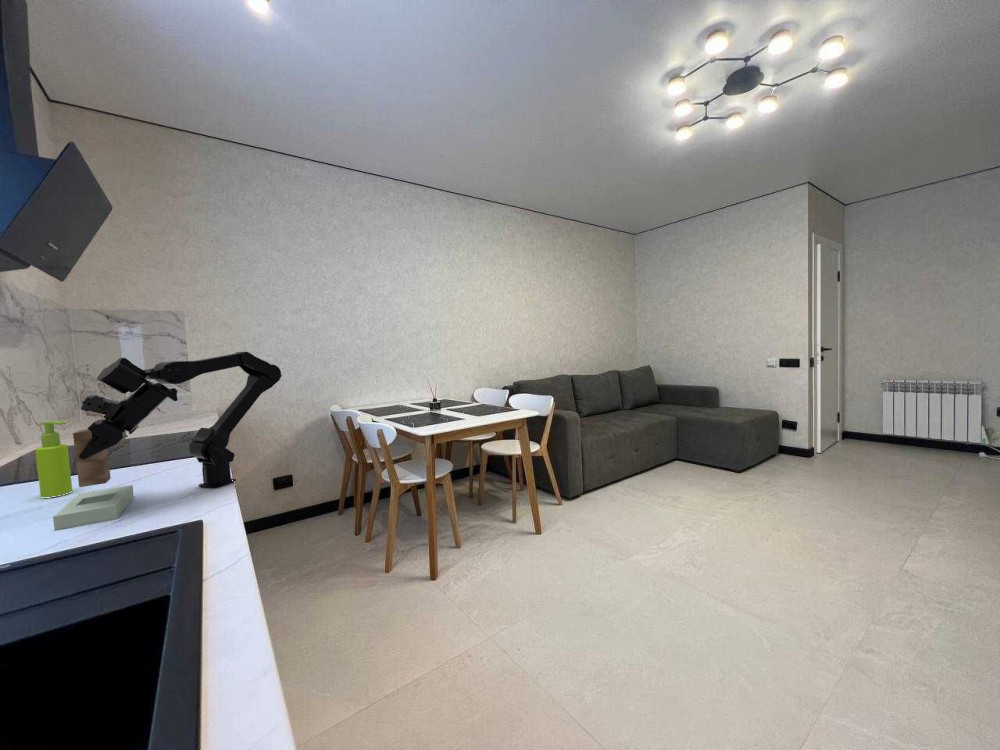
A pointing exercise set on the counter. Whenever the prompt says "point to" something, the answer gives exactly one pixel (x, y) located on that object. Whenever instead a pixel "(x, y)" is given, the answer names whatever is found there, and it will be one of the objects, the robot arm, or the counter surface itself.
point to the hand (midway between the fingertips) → (84, 456)
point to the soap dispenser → (53, 463)
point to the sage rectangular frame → (93, 507)
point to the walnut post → (90, 462)
